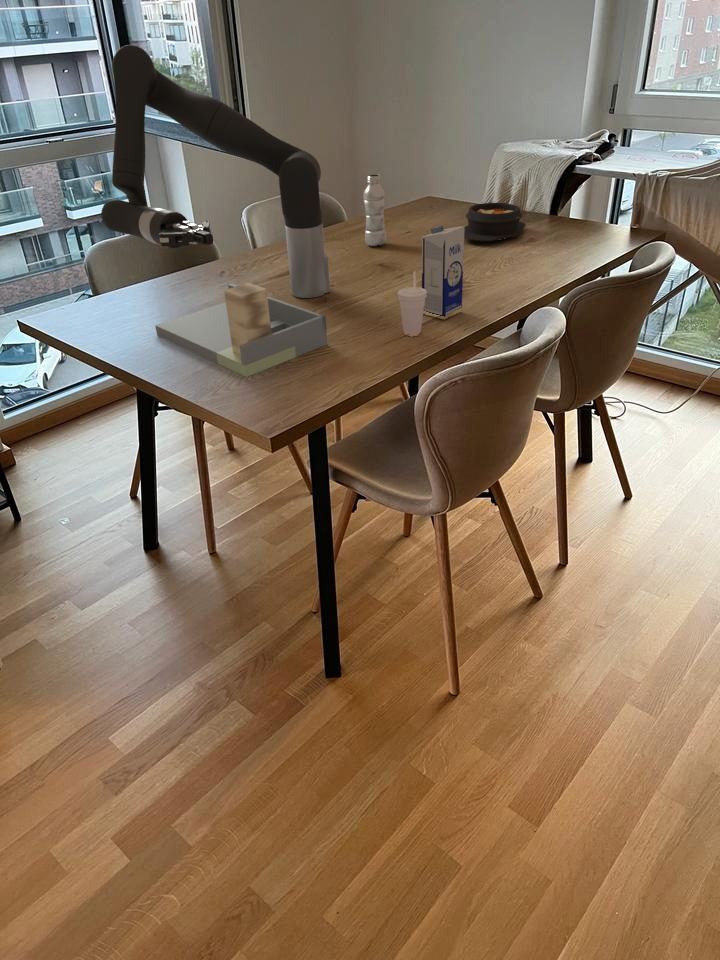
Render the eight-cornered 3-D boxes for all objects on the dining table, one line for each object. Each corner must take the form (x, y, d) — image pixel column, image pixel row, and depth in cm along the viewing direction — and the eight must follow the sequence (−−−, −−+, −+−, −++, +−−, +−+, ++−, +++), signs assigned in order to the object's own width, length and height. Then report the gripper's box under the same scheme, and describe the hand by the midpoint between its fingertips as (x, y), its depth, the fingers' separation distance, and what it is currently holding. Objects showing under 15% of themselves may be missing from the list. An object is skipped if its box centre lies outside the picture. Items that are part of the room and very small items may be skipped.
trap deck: (234, 309, 186) (231, 283, 183) (327, 344, 165) (325, 316, 162) (157, 335, 174) (151, 308, 170) (246, 377, 153) (242, 346, 149)
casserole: (498, 250, 219) (500, 221, 215) (444, 241, 229) (445, 213, 225) (539, 231, 235) (541, 202, 231) (487, 223, 245) (488, 196, 241)
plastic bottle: (390, 243, 229) (389, 174, 219) (379, 249, 225) (377, 178, 214) (372, 241, 232) (370, 172, 222) (360, 247, 228) (358, 176, 217)
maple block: (255, 342, 161) (248, 282, 154) (273, 349, 157) (266, 288, 150) (232, 351, 158) (224, 290, 151) (250, 358, 154) (242, 296, 147)
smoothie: (424, 340, 165) (425, 276, 157) (395, 338, 166) (394, 276, 159) (428, 329, 170) (428, 267, 163) (400, 328, 172) (399, 266, 164)
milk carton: (444, 320, 174) (446, 232, 164) (421, 314, 178) (421, 227, 167) (462, 311, 179) (465, 225, 168) (439, 306, 183) (440, 221, 172)
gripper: (133, 216, 158) (178, 228, 147) (186, 203, 166) (233, 213, 155) (141, 252, 162) (185, 266, 151) (192, 237, 170) (238, 250, 159)
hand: (209, 239), depth 153 cm, fingers closed
